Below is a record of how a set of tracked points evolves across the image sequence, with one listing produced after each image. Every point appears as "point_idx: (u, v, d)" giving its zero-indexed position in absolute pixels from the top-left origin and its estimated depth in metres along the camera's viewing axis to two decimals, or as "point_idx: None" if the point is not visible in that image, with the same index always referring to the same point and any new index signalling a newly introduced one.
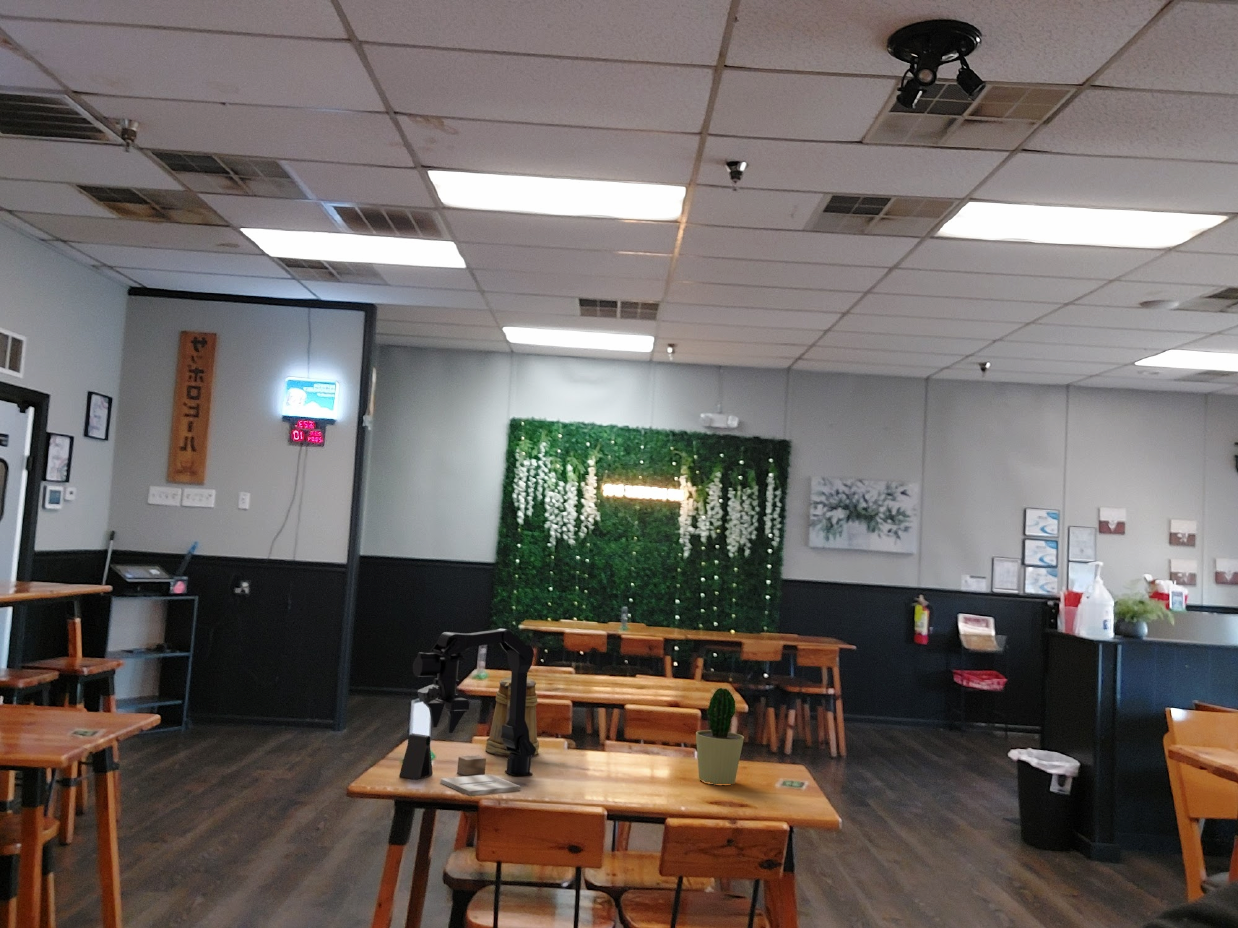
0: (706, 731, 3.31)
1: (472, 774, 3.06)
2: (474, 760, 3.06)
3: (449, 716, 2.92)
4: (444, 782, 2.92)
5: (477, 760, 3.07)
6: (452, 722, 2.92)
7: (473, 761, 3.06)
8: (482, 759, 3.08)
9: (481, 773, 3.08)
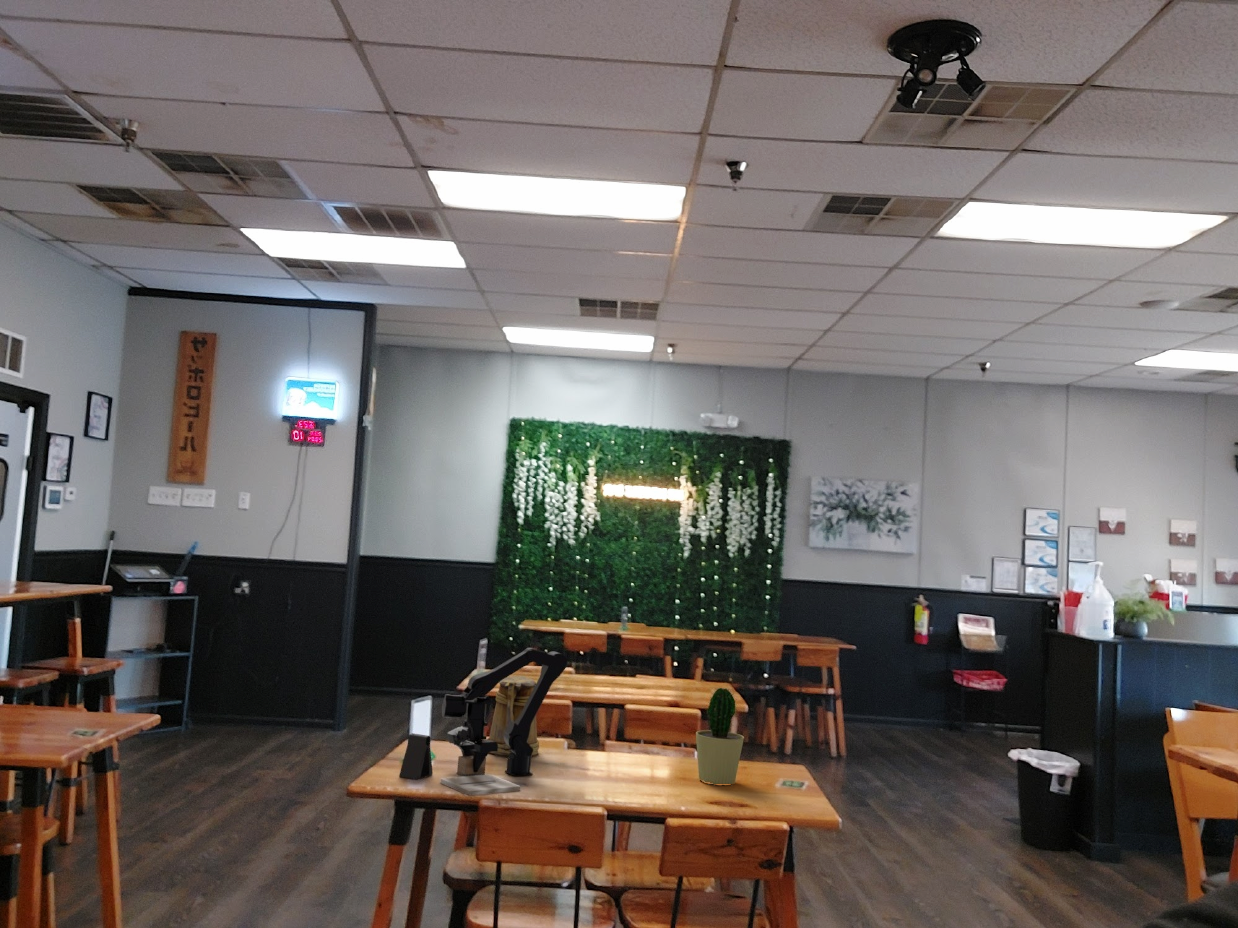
0: (706, 731, 3.31)
1: (472, 774, 3.06)
2: None
3: (474, 756, 3.05)
4: (444, 782, 2.92)
5: None
6: (477, 761, 3.05)
7: None
8: None
9: (481, 773, 3.08)
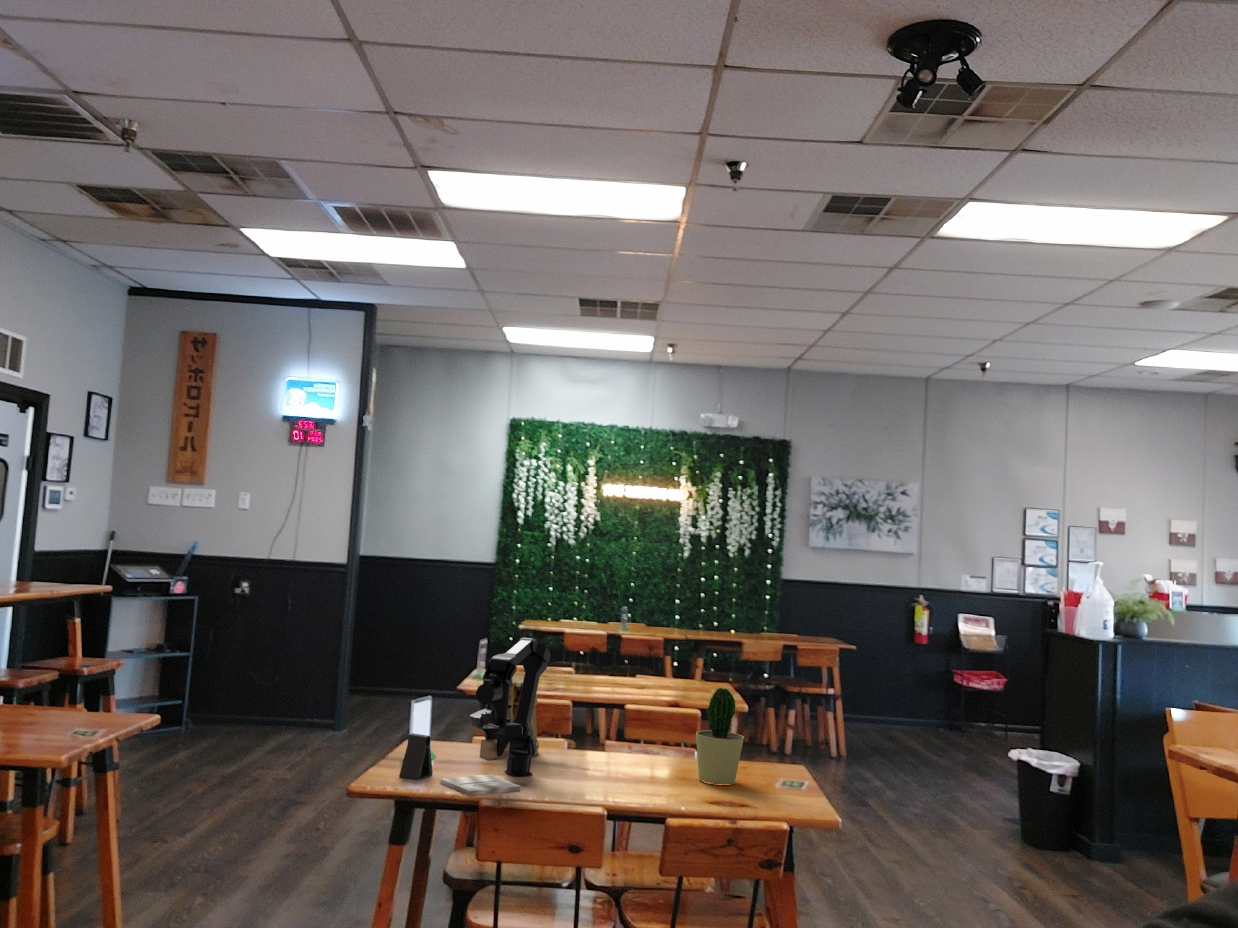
0: (706, 731, 3.31)
1: (495, 758, 2.94)
2: None
3: (498, 739, 2.93)
4: (444, 782, 2.92)
5: None
6: (500, 745, 2.93)
7: (496, 744, 2.94)
8: None
9: (505, 757, 2.96)
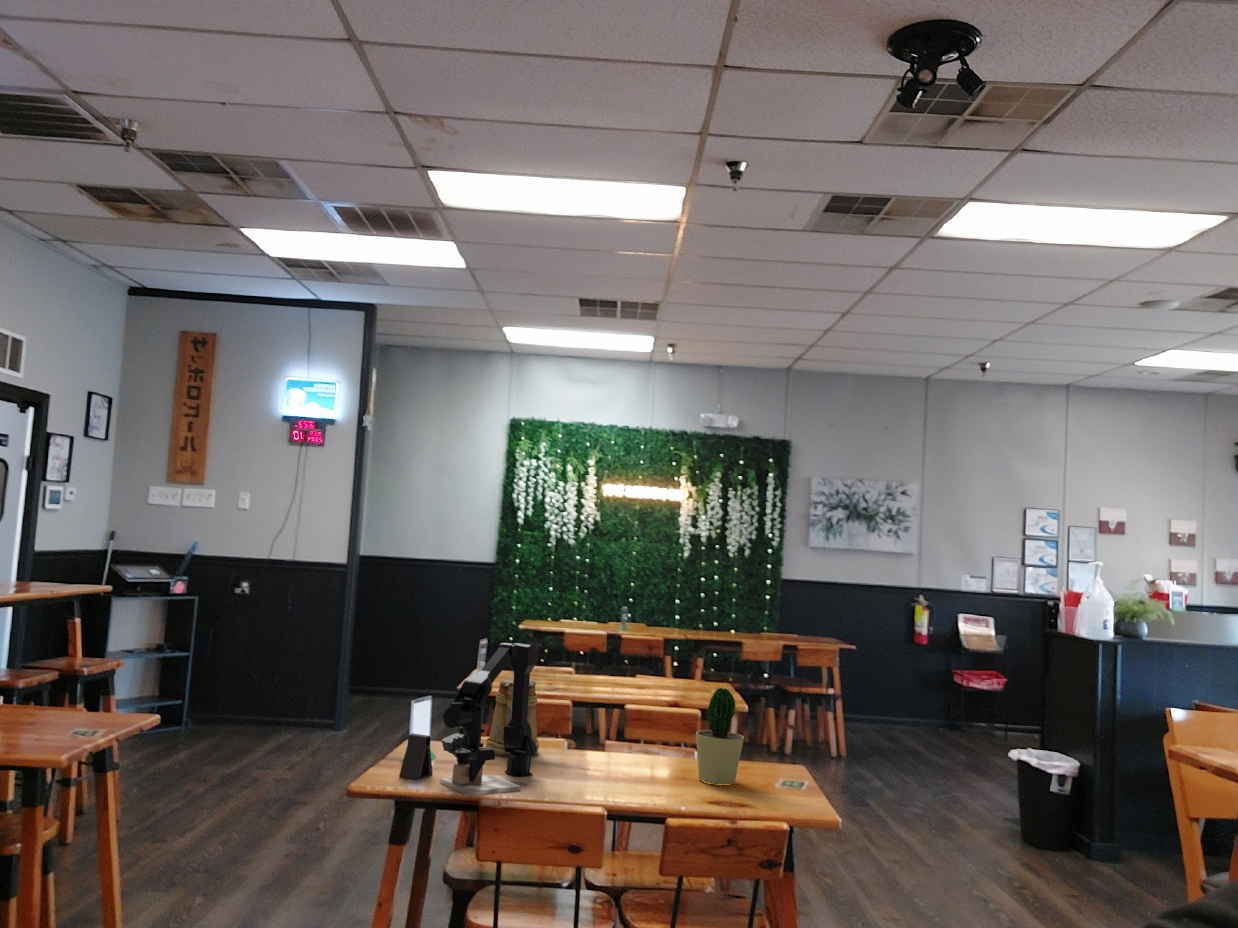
0: (706, 731, 3.31)
1: (468, 783, 2.87)
2: None
3: (470, 765, 2.87)
4: (444, 782, 2.92)
5: None
6: (473, 770, 2.87)
7: None
8: None
9: (477, 782, 2.89)
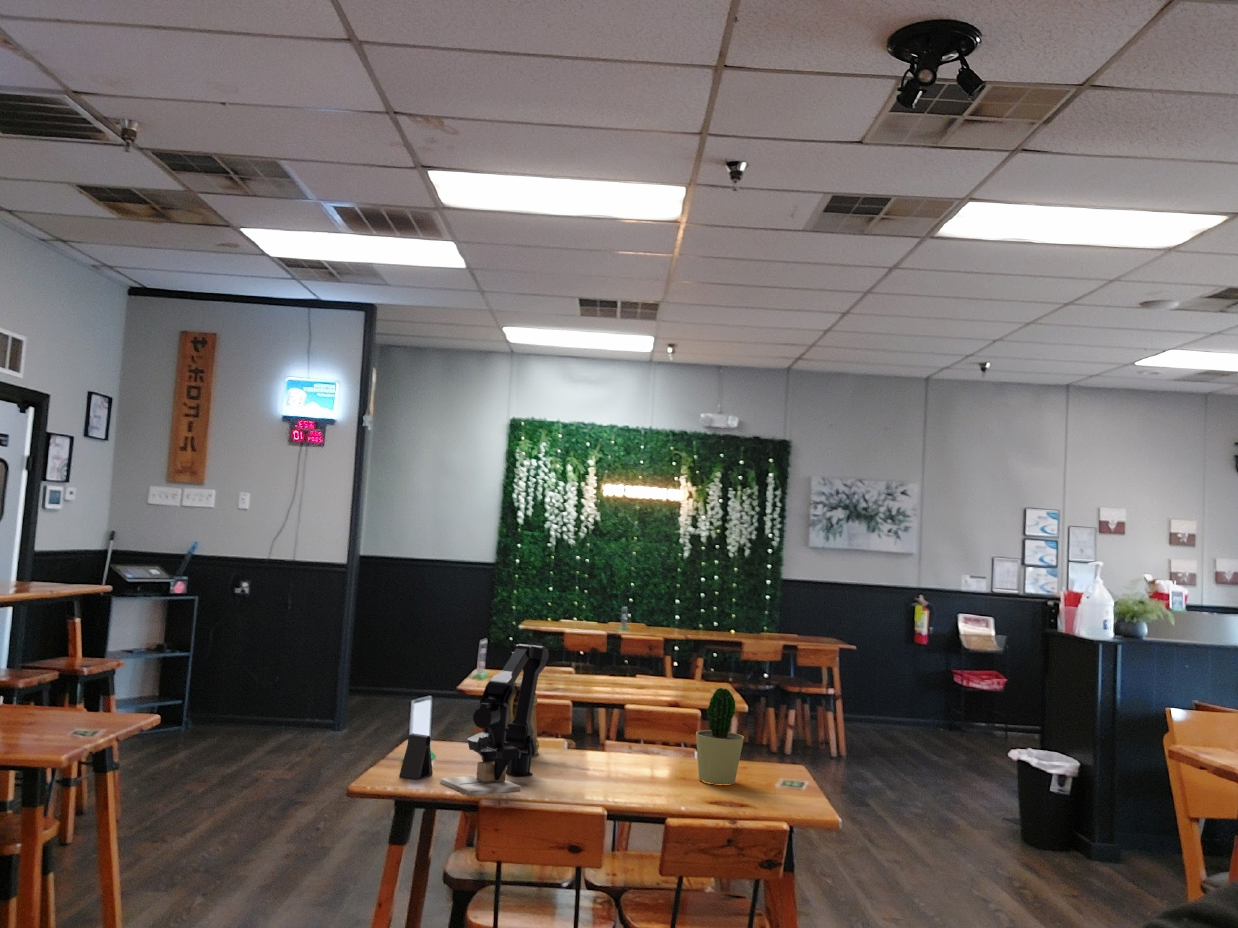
0: (706, 731, 3.31)
1: (492, 780, 2.93)
2: (494, 766, 2.93)
3: (495, 763, 2.92)
4: (444, 782, 2.92)
5: None
6: (498, 769, 2.92)
7: (493, 767, 2.93)
8: None
9: (501, 779, 2.95)
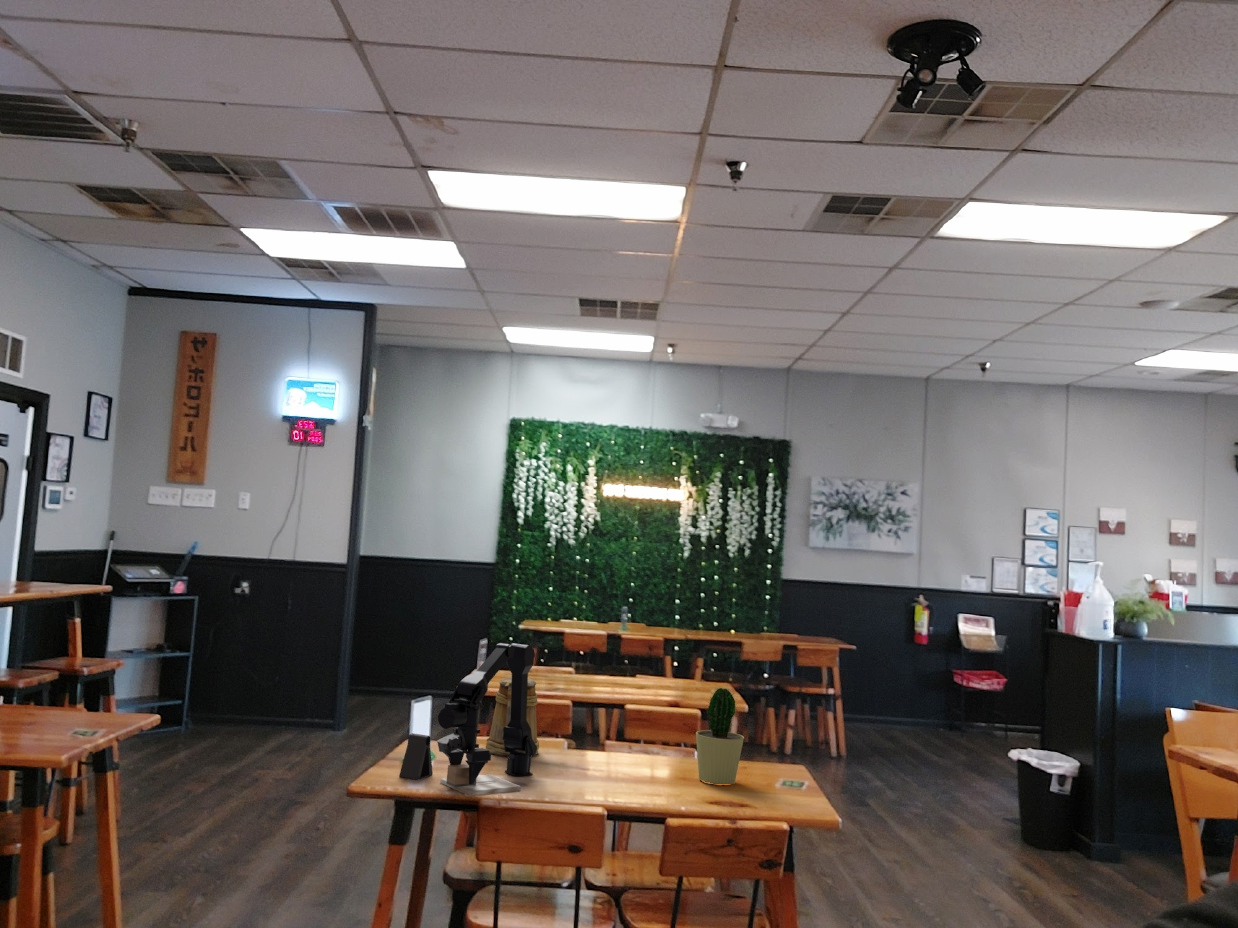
0: (706, 731, 3.31)
1: (462, 784, 2.86)
2: (465, 769, 2.87)
3: (470, 767, 2.84)
4: (444, 782, 2.92)
5: (468, 769, 2.88)
6: (472, 773, 2.85)
7: (463, 770, 2.87)
8: None
9: None
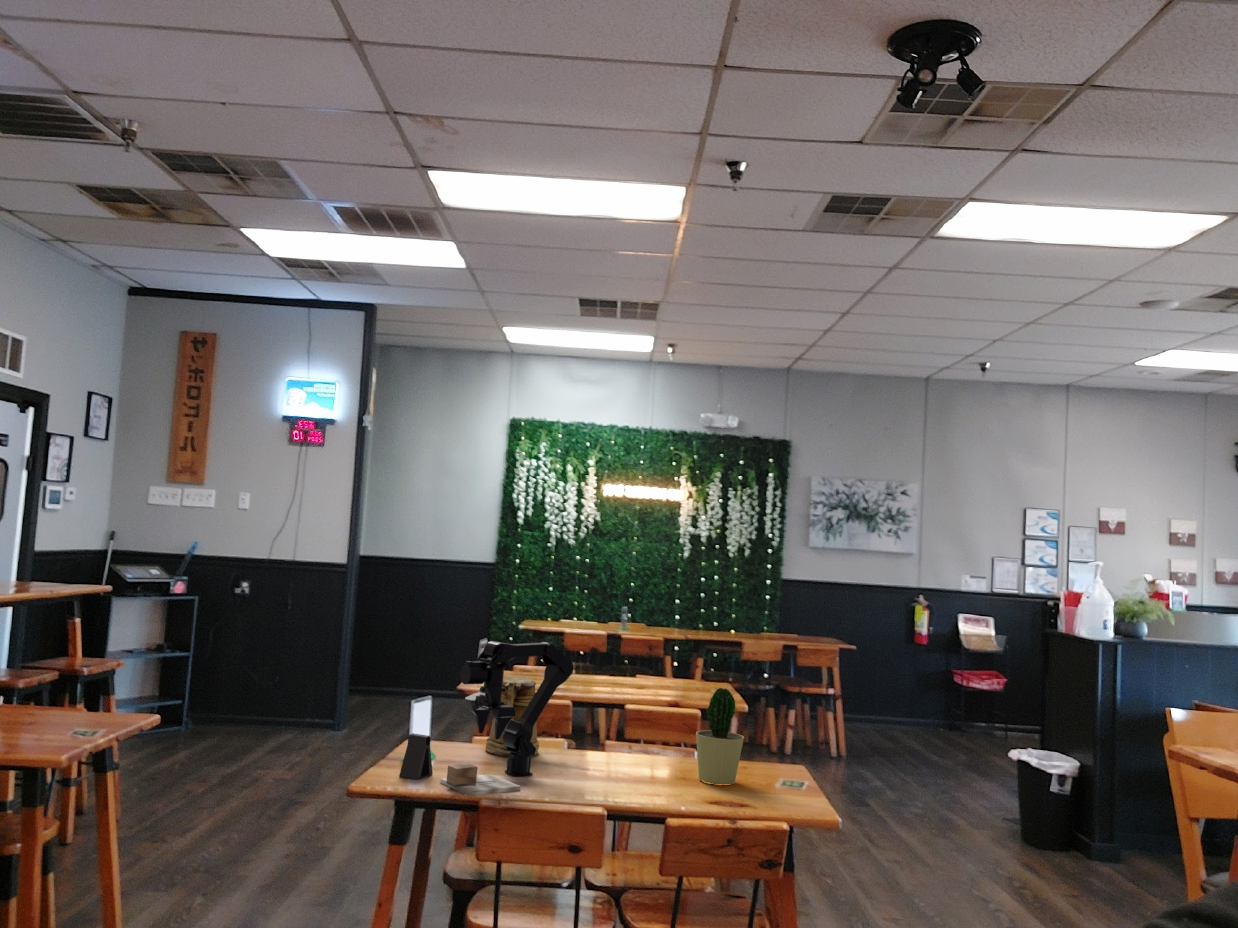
0: (706, 731, 3.31)
1: (462, 784, 2.86)
2: (465, 769, 2.87)
3: (496, 723, 3.02)
4: (444, 782, 2.92)
5: (468, 769, 2.88)
6: (498, 728, 3.02)
7: (463, 770, 2.87)
8: (473, 768, 2.89)
9: (472, 783, 2.88)
